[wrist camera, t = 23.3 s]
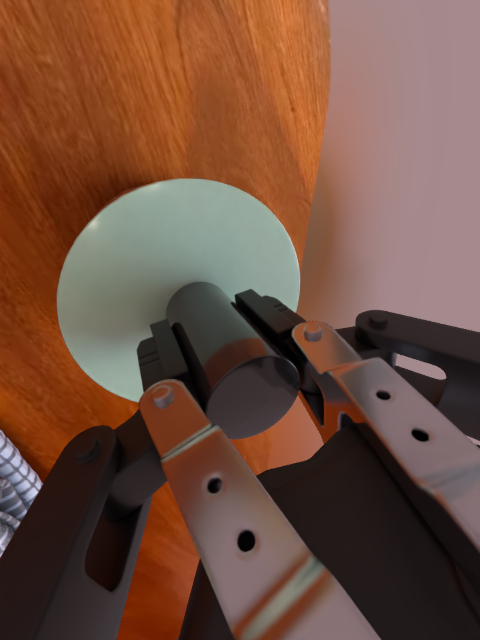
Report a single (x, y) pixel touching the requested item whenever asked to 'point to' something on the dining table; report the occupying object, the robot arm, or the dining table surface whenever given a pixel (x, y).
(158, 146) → the dining table surface
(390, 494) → the robot arm
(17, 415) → the dining table surface
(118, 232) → the lid
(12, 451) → the towel
